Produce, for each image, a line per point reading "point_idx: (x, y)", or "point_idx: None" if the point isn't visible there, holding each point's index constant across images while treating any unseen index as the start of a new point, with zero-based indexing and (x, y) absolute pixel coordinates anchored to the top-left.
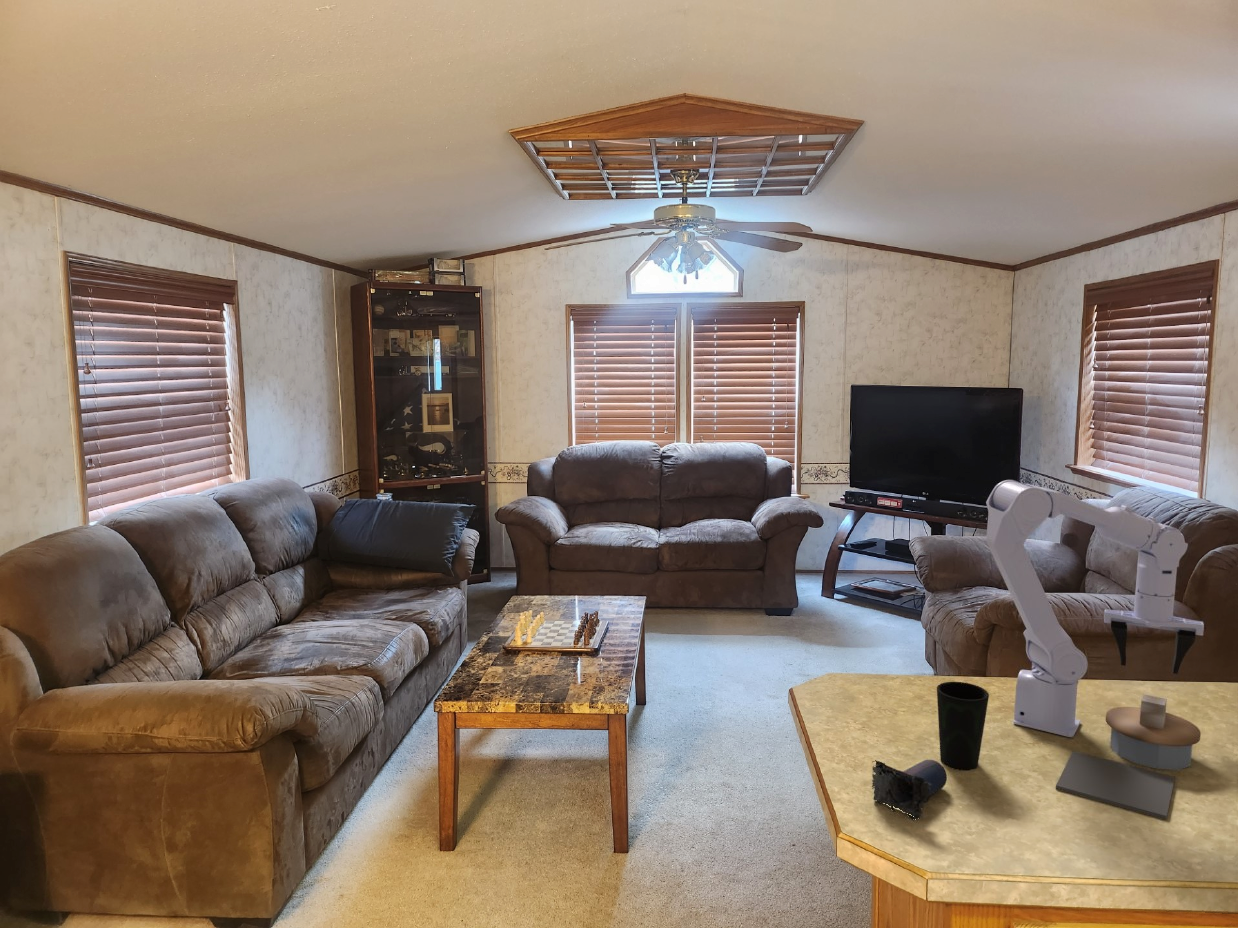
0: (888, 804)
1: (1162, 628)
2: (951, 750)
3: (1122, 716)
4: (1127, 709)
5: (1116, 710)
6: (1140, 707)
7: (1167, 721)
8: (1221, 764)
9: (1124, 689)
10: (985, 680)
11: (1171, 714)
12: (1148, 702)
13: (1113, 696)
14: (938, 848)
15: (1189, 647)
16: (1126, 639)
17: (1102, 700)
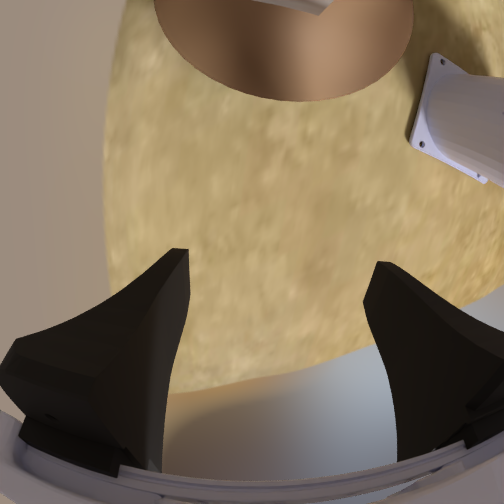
0: None
1: (242, 485)
2: None
3: (373, 11)
4: (354, 69)
5: (386, 52)
6: (310, 100)
7: (240, 10)
8: (129, 33)
9: (276, 351)
10: (484, 289)
11: (217, 77)
12: None
13: (303, 316)
14: None
15: (59, 324)
16: (463, 333)
17: (331, 289)
